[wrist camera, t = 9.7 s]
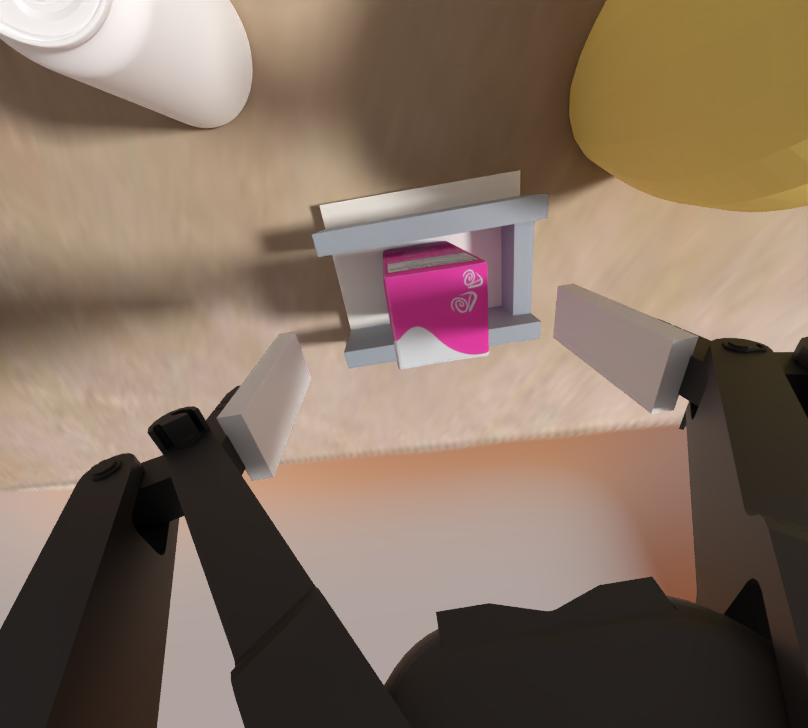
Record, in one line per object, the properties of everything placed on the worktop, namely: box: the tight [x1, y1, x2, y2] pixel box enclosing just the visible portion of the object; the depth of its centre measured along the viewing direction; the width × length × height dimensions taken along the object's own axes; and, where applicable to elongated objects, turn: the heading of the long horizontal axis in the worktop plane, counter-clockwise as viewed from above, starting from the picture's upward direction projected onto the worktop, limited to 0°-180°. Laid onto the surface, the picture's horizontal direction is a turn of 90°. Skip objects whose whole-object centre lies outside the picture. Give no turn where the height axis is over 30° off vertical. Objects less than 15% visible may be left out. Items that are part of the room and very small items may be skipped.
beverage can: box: [0, 0, 253, 128], centre depth 15 cm, size 8×8×12 cm
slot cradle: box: [312, 170, 549, 369], centre depth 25 cm, size 16×14×6 cm
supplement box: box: [383, 241, 489, 370], centre depth 22 cm, size 6×6×12 cm
